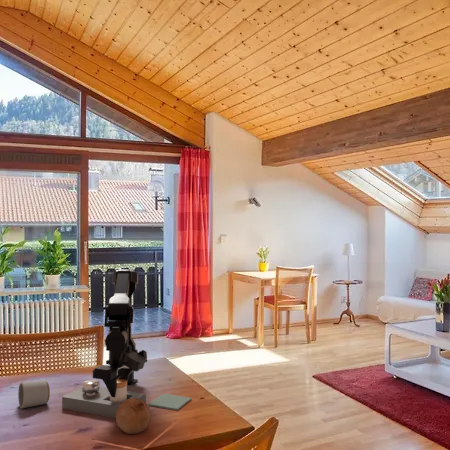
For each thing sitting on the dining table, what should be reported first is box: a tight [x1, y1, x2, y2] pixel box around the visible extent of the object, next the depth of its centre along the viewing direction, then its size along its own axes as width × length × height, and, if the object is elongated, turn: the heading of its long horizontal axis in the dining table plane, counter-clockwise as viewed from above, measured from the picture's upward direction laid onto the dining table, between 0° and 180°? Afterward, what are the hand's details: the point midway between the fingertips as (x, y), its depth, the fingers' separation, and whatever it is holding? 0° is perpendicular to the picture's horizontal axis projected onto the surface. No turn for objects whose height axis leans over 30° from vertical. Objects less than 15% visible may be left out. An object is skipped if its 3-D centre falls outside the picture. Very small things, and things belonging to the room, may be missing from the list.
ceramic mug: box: [17, 380, 51, 409], centre depth 158 cm, size 11×8×8 cm
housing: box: [61, 386, 147, 419], centre depth 154 cm, size 12×22×4 cm, turn 69°
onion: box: [115, 398, 152, 435], centre depth 138 cm, size 10×9×10 cm
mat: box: [147, 393, 192, 412], centre depth 158 cm, size 10×10×1 cm
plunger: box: [81, 379, 100, 396], centre depth 156 cm, size 5×5×7 cm
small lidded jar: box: [110, 379, 128, 403], centre depth 152 cm, size 5×5×8 cm
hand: (118, 394), depth 152 cm, fingers closed on small lidded jar, 5 cm apart
